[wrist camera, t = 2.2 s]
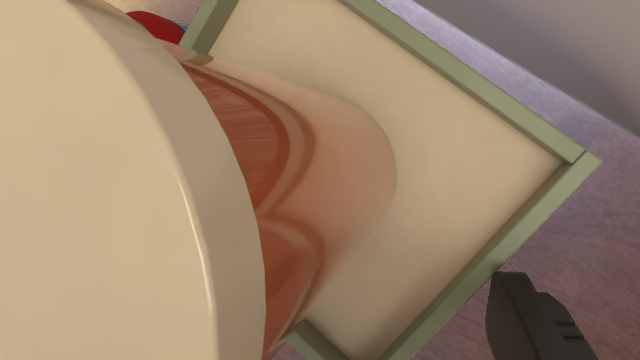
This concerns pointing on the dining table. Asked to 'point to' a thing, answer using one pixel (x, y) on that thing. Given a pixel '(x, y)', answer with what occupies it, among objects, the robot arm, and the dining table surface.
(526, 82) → the dining table surface
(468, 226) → the cabinet
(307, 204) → the terracotta jar
